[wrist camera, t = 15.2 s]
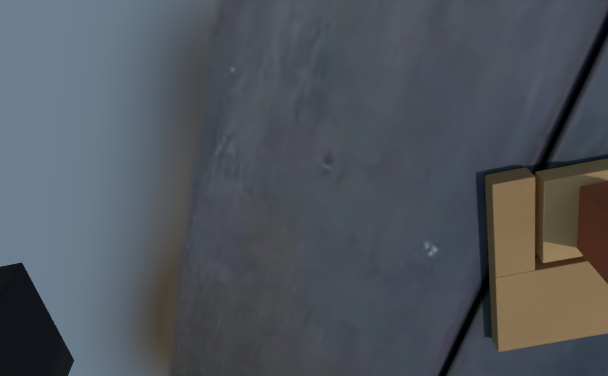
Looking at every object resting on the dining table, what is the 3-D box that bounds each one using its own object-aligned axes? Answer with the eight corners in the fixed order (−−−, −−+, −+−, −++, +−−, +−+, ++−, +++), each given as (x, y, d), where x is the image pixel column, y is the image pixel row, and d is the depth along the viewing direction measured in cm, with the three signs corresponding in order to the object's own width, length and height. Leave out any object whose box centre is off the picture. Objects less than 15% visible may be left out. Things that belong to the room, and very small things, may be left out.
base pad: (491, 338, 53) (498, 352, 51) (484, 174, 44) (491, 184, 43) (660, 309, 52) (673, 322, 50) (685, 136, 43) (701, 145, 42)
